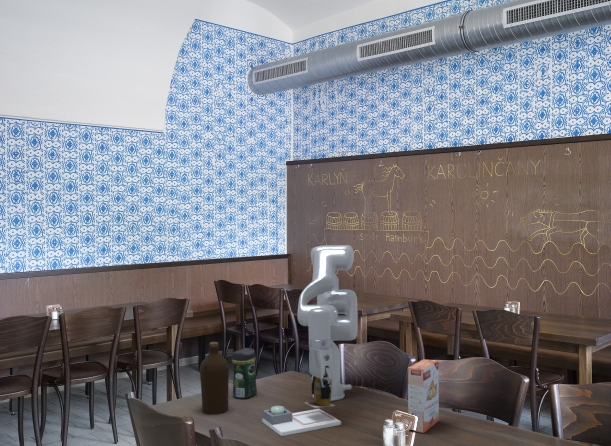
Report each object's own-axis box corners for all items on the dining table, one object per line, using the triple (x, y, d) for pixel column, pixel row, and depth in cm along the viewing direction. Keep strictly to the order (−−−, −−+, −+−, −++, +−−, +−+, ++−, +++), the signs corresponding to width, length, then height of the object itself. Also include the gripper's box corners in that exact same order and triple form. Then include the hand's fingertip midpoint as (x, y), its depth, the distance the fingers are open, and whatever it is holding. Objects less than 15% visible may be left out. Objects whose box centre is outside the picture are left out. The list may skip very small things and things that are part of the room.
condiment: (335, 406, 215) (337, 370, 215) (314, 408, 210) (316, 372, 211) (324, 401, 221) (325, 367, 221) (303, 403, 216) (305, 368, 217)
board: (319, 411, 226) (318, 400, 226) (340, 424, 211) (340, 412, 211) (262, 422, 216) (262, 410, 216) (281, 436, 201) (281, 423, 201)
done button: (280, 413, 217) (280, 405, 217) (286, 417, 213) (286, 408, 213) (269, 415, 215) (269, 406, 215) (274, 419, 211) (274, 410, 211)
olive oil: (227, 414, 225) (226, 345, 224) (198, 415, 225) (196, 345, 225) (231, 405, 235) (230, 339, 235) (203, 406, 235) (201, 340, 235)
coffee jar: (243, 391, 254) (242, 346, 254) (259, 393, 250) (258, 347, 250) (229, 397, 246) (228, 350, 246) (246, 400, 242) (244, 352, 242)
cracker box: (425, 434, 200) (424, 369, 200) (407, 431, 204) (406, 367, 203) (440, 421, 212) (439, 360, 212) (423, 418, 216) (422, 358, 215)
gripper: (341, 346, 210) (342, 400, 210) (317, 339, 225) (318, 389, 225) (321, 349, 207) (322, 403, 206) (299, 341, 222) (300, 392, 222)
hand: (320, 395), depth 216 cm, fingers closed on condiment, 6 cm apart
